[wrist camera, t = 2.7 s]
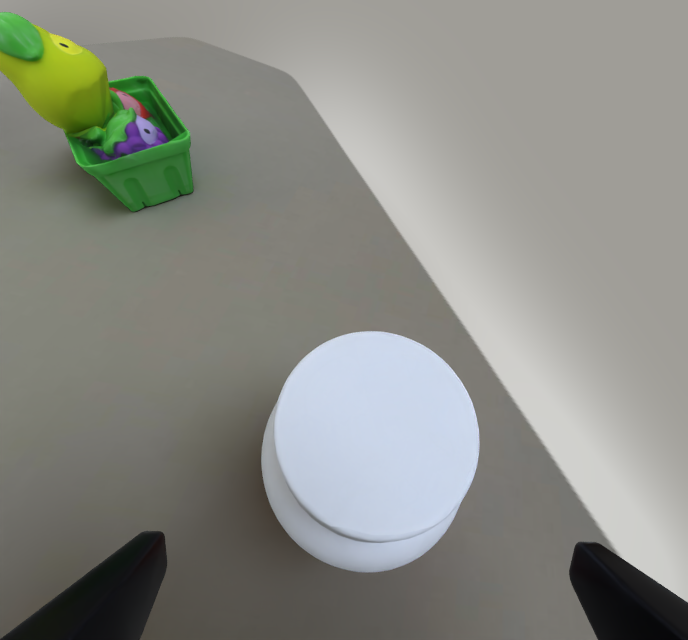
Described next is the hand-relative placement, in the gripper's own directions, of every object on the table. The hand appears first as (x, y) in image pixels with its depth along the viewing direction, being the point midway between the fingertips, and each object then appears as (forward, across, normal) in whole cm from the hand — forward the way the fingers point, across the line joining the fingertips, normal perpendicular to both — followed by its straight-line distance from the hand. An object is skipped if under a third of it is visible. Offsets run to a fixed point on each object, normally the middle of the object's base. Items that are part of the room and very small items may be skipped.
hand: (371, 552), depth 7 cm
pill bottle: (+9, 0, +5) cm, 10 cm away
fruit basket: (+26, +19, -12) cm, 34 cm away
